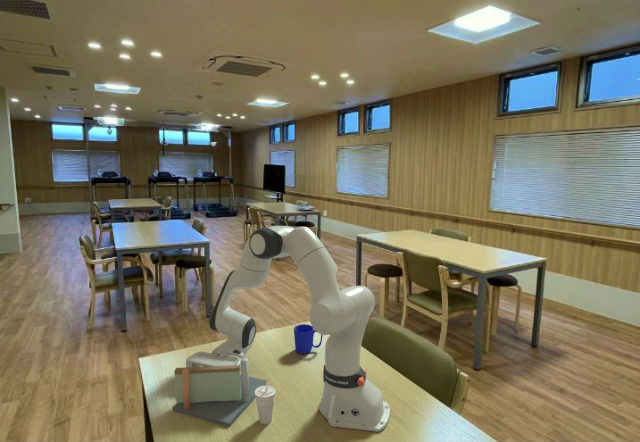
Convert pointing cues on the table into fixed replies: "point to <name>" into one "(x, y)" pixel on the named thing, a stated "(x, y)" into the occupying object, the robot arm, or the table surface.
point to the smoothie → (265, 402)
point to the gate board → (223, 409)
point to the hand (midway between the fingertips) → (200, 376)
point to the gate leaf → (210, 383)
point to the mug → (304, 338)
